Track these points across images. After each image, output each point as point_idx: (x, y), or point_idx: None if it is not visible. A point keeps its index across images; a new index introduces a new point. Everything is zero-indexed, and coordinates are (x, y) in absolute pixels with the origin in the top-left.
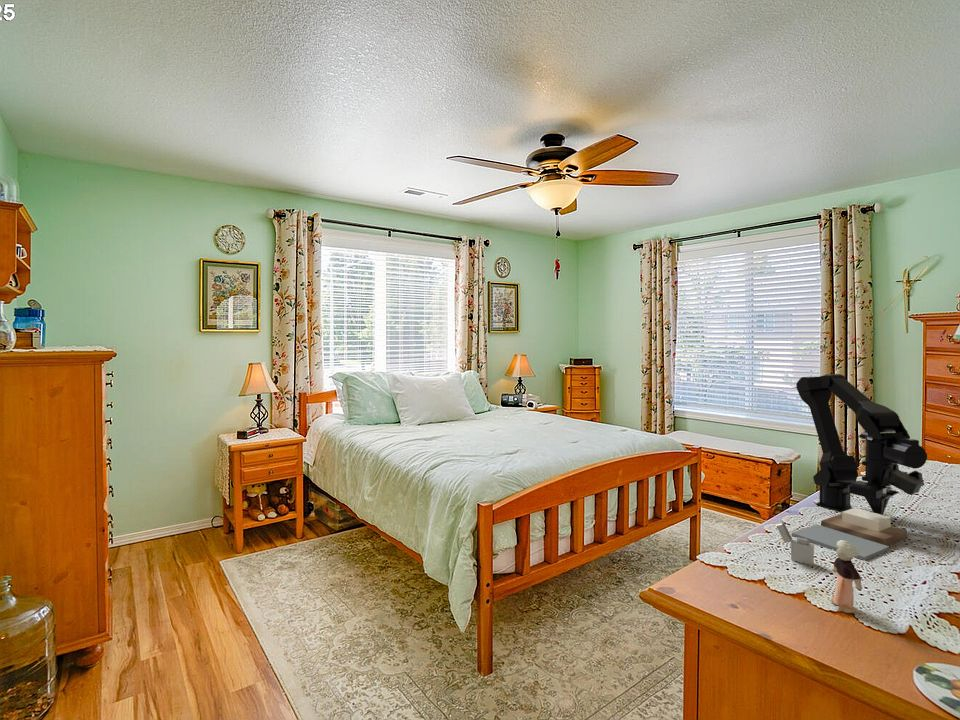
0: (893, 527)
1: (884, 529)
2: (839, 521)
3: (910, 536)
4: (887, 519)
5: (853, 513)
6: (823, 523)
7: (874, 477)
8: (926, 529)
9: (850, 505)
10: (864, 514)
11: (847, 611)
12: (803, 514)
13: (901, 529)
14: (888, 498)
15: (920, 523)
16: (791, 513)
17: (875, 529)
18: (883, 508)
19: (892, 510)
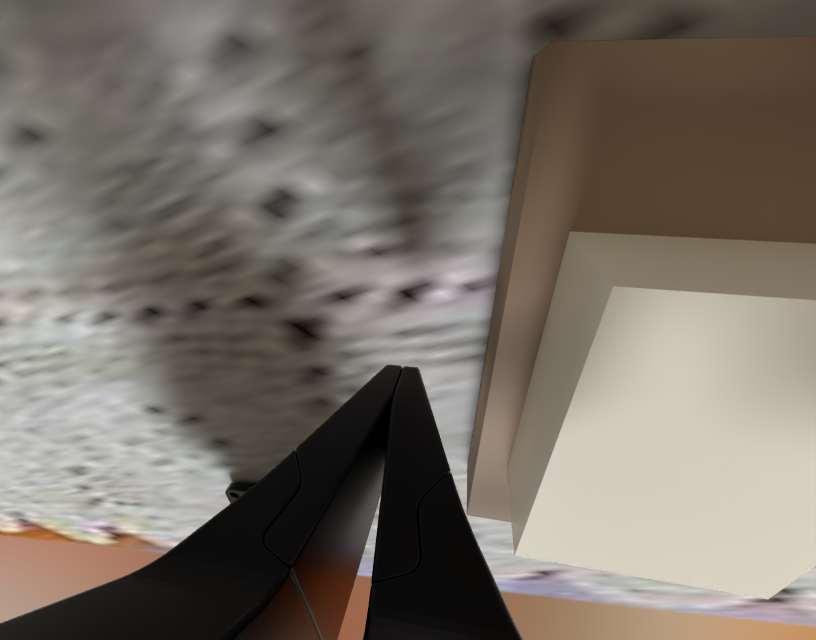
0: (564, 205)
1: (740, 239)
2: None
3: (439, 64)
4: (728, 286)
5: (758, 550)
6: None
7: None
8: (97, 68)
9: (228, 493)
10: (725, 493)
11: None
12: (539, 569)
13: (584, 107)
14: (217, 569)
15: (36, 174)
16: (568, 592)
17: None
18: (370, 434)
19: (47, 365)
